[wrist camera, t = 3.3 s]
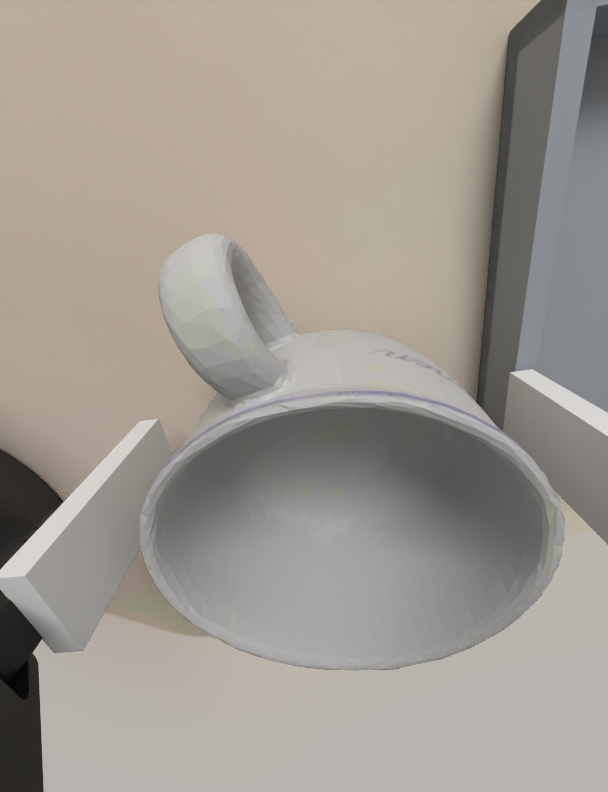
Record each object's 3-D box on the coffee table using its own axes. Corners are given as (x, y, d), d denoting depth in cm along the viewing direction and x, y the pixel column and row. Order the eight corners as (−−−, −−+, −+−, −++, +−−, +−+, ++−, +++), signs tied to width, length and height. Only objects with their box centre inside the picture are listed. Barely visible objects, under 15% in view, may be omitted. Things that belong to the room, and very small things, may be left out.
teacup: (447, 489, 17) (547, 669, 10) (250, 522, 18) (214, 704, 11) (431, 186, 11) (642, 103, 4) (143, 262, 13) (-76, 298, 5)
